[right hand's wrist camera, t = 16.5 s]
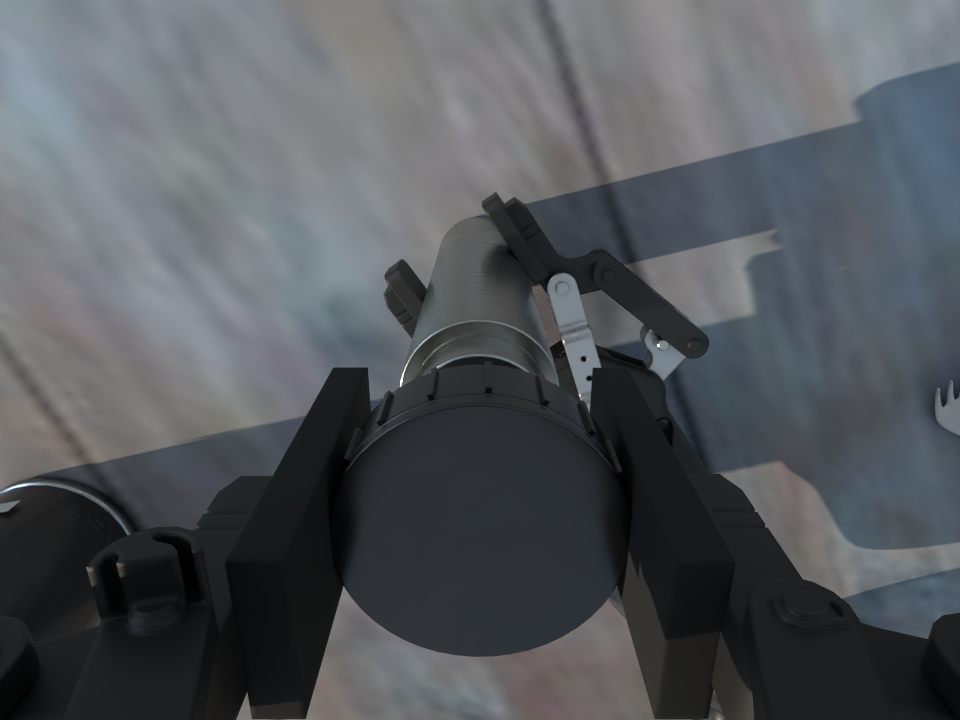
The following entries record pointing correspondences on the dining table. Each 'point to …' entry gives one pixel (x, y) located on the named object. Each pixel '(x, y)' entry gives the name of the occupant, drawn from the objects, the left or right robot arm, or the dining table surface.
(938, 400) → the fork
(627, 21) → the dining table surface
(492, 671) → the dining table surface
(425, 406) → the lid
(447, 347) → the dark grey cylinder
